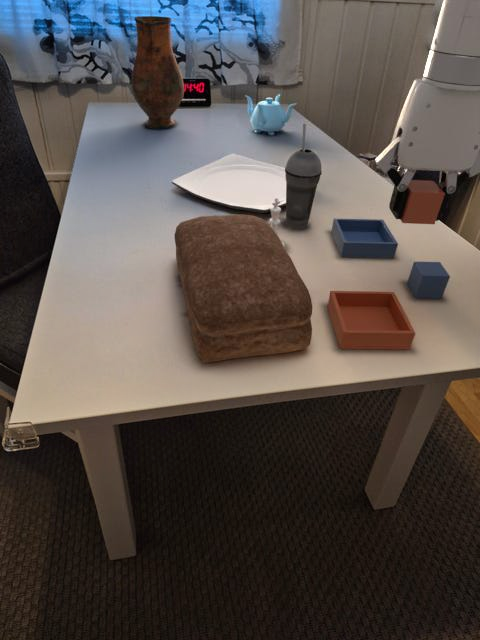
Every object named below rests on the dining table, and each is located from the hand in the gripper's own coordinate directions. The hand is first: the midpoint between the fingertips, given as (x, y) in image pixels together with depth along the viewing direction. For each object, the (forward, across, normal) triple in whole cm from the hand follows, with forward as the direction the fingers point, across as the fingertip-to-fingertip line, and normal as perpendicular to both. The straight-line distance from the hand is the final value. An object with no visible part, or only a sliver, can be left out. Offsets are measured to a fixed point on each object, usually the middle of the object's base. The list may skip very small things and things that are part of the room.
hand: (414, 214), depth 63 cm
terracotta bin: (+16, +5, +6) cm, 18 cm away
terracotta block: (0, 0, 0) cm, 0 cm away
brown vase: (+16, +50, -102) cm, 115 cm away
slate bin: (+16, 0, -20) cm, 25 cm away
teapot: (+16, +14, -97) cm, 99 cm away
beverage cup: (+16, +12, -28) cm, 34 cm away
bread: (+16, +25, 0) cm, 30 cm away
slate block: (+16, -8, -4) cm, 18 cm away
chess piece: (+16, +18, -18) cm, 30 cm away
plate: (+16, +22, -47) cm, 54 cm away
